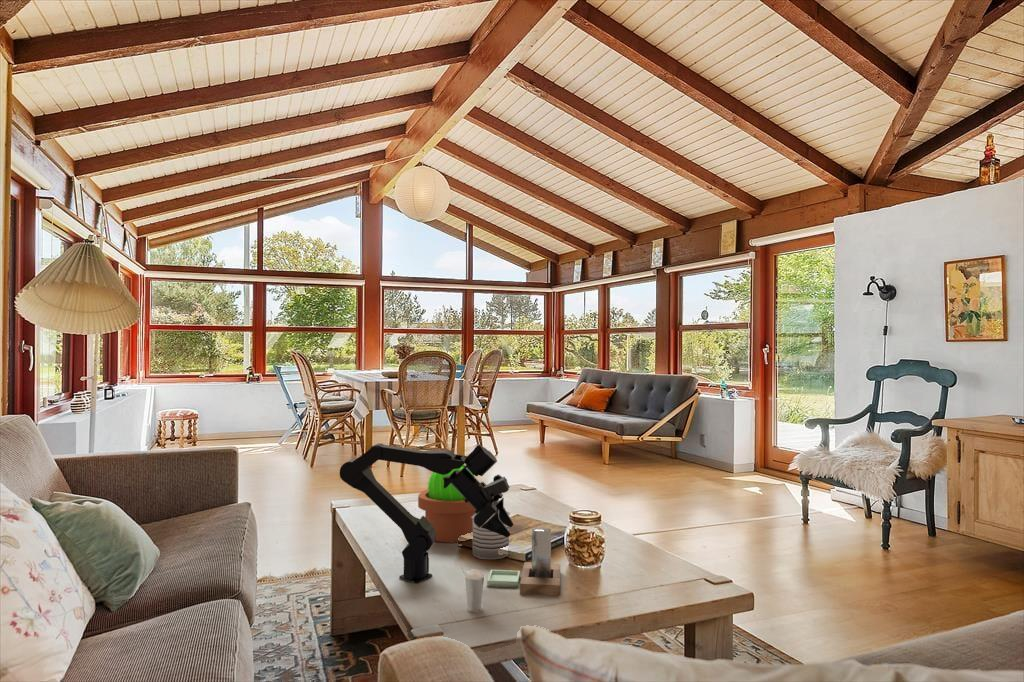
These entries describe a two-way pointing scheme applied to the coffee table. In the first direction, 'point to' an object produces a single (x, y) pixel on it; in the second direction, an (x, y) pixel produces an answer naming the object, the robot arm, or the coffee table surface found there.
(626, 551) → the coffee table surface
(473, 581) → the milkshake
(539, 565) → the steel cylinder
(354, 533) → the coffee table surface
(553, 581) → the pocket block
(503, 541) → the can
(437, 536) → the potted cactus
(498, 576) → the tray
